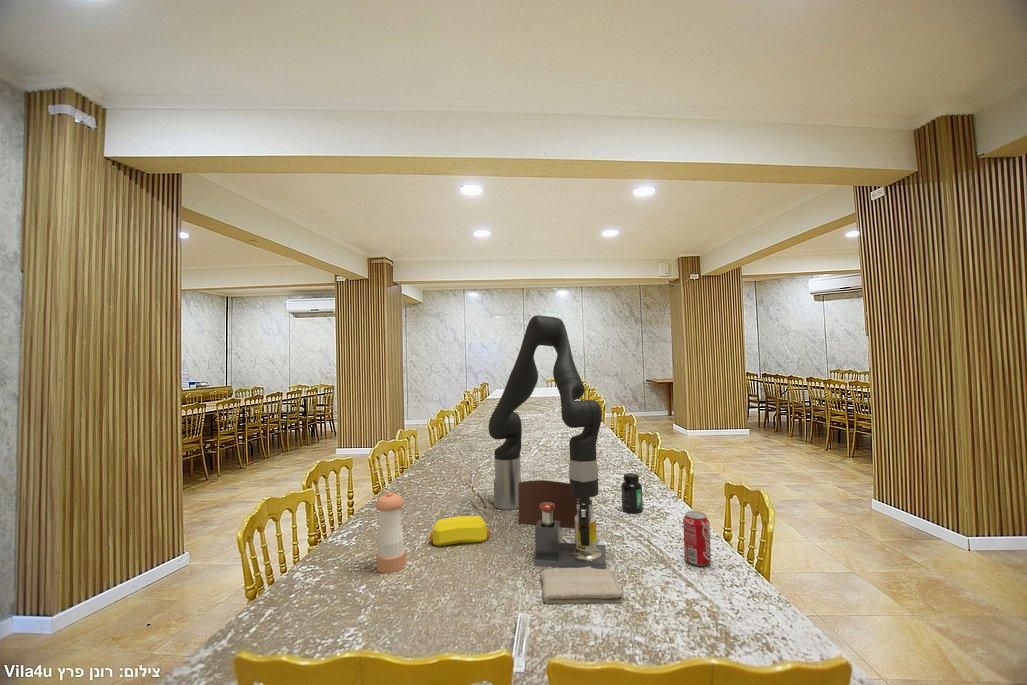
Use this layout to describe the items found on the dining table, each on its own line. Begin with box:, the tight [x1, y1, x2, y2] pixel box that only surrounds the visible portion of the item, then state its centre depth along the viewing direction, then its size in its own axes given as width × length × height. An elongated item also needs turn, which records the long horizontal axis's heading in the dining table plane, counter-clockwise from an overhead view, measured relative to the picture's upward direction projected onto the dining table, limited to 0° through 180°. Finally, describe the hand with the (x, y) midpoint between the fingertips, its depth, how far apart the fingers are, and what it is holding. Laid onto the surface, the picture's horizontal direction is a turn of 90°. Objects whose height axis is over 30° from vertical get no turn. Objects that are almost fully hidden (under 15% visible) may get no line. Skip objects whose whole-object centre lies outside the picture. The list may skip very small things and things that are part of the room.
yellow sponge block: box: [428, 515, 491, 547], centre depth 133 cm, size 18×7×8 cm
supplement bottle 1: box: [574, 509, 598, 552], centre depth 119 cm, size 6×6×10 cm
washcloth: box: [540, 566, 625, 605], centre depth 103 cm, size 12×18×3 cm, turn 89°
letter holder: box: [518, 480, 579, 529], centre depth 146 cm, size 10×20×14 cm, turn 73°
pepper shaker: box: [375, 491, 406, 574], centre depth 118 cm, size 7×7×19 cm
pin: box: [540, 502, 555, 527], centre depth 121 cm, size 4×4×8 cm
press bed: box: [533, 520, 607, 569], centre depth 119 cm, size 18×11×8 cm, turn 79°
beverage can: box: [682, 510, 712, 567], centre depth 115 cm, size 6×6×12 cm
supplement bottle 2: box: [620, 472, 644, 515], centre depth 153 cm, size 7×7×12 cm
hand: (585, 540), depth 119 cm, fingers closed on supplement bottle 1, 5 cm apart
